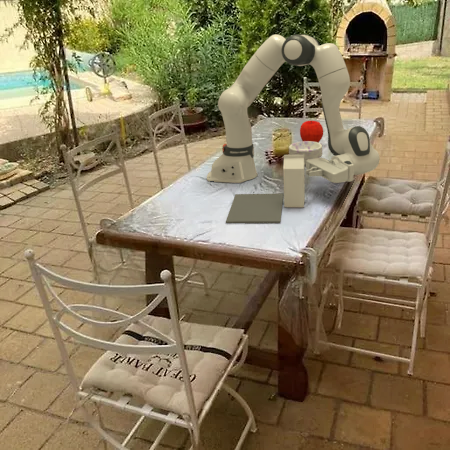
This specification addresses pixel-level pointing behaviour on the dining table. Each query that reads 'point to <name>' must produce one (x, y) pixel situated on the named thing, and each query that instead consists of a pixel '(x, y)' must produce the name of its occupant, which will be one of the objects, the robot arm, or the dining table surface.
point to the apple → (311, 131)
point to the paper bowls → (306, 149)
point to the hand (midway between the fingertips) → (307, 173)
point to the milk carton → (294, 180)
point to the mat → (256, 208)
